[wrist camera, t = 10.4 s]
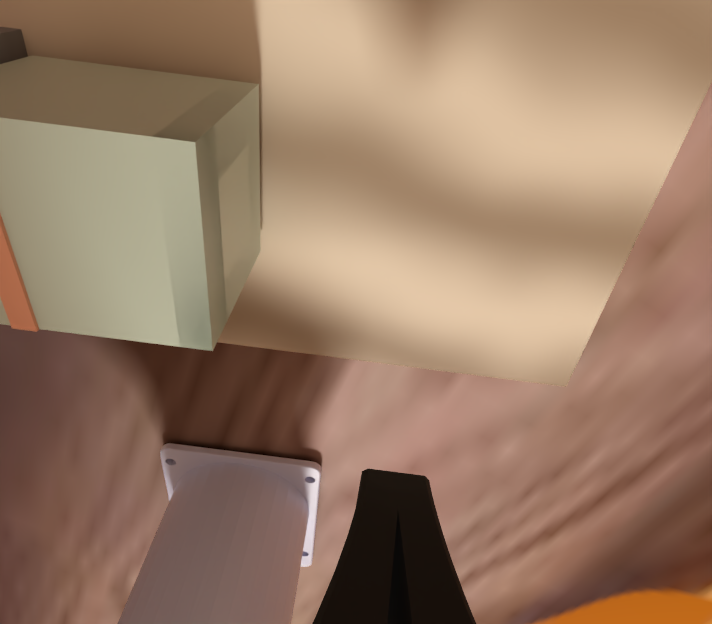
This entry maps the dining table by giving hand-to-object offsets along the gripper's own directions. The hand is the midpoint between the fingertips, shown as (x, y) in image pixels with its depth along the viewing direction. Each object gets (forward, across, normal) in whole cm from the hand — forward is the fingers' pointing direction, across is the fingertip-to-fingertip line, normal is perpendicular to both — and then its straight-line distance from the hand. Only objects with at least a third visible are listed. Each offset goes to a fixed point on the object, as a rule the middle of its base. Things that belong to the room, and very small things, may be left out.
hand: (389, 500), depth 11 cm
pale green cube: (+7, +8, -4) cm, 11 cm away
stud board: (+9, +4, -4) cm, 11 cm away
